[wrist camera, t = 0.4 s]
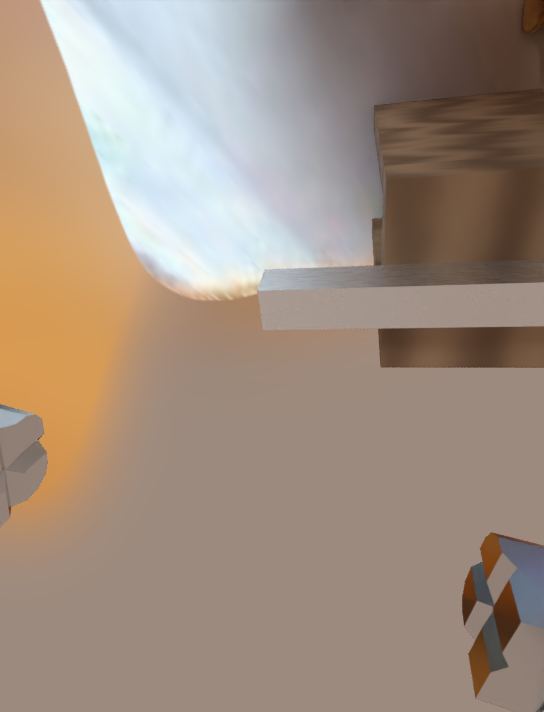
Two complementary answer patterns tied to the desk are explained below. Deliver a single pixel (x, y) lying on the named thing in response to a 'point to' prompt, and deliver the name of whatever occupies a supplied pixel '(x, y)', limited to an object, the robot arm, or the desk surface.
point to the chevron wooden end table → (461, 211)
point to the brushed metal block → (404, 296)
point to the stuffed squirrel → (533, 15)
